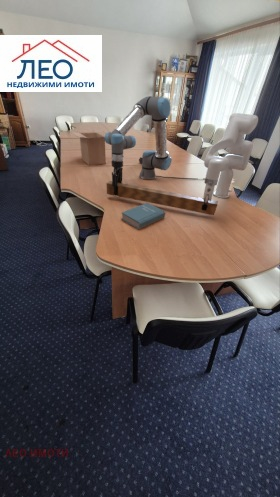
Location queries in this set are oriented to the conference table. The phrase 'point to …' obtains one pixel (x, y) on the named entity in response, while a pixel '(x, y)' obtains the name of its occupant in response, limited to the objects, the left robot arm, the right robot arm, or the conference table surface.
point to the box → (92, 146)
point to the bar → (163, 198)
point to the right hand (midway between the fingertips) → (204, 207)
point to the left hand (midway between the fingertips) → (117, 193)
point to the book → (142, 215)
